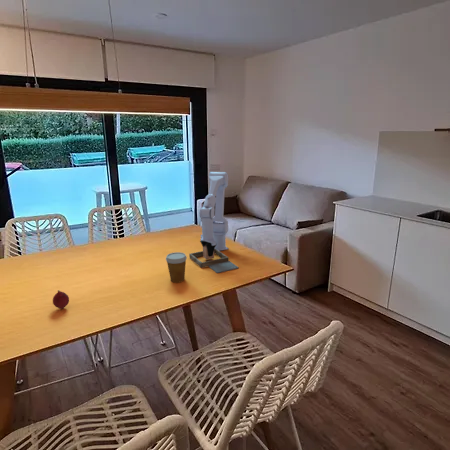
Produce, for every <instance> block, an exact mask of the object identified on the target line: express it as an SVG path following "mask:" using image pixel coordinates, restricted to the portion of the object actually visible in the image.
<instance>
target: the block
mask: <svg viewBox="0 0 450 450" xmlns="http://www.w3.org/2000/svg"><path fill="white" fill-rule="evenodd" d="M202 251H203V256H202V257H203V258H204V259H205V260H211V259H212V260H213V259H215V254H214V252H213V256H210V257H209V256H208V251H207V247H206V246H202Z"/></svg>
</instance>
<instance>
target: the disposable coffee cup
mask: <svg viewBox="0 0 450 450" xmlns="http://www.w3.org/2000/svg"><path fill="white" fill-rule="evenodd" d="M187 257H188V256H187V255H186V253H184V252H177V251H175V252H171V253H168V254H167V255H166V257H165V261H166V265H167V269H168V273H169V278H170V282H171V283H181V282H185V277H186V263H187Z"/></svg>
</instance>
